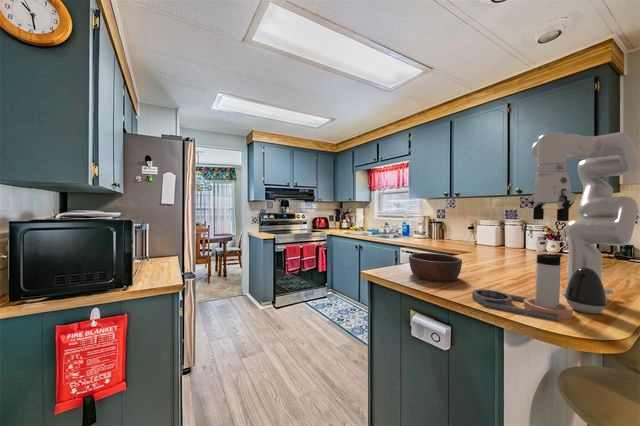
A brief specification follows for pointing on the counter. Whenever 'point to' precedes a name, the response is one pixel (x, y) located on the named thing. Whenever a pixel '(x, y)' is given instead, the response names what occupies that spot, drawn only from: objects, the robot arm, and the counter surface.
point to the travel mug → (548, 281)
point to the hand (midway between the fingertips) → (549, 220)
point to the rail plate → (506, 303)
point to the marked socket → (562, 313)
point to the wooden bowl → (435, 266)
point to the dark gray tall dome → (586, 292)
